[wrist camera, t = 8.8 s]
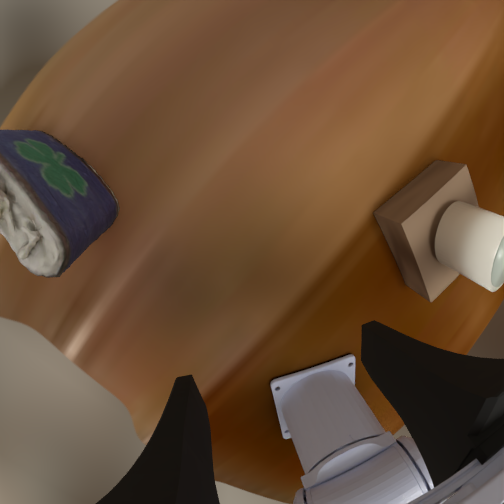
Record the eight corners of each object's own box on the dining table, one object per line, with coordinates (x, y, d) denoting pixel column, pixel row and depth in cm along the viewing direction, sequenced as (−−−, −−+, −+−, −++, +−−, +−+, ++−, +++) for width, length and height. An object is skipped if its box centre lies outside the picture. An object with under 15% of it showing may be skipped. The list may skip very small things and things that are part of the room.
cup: (464, 256, 21) (511, 281, 16) (430, 270, 19) (482, 302, 15) (473, 198, 19) (525, 217, 14) (439, 204, 17) (500, 227, 13)
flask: (18, 152, 15) (-88, 166, 5) (41, 118, 15) (-64, 105, 5) (104, 235, 19) (35, 313, 9) (131, 202, 18) (69, 257, 8)
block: (458, 231, 25) (486, 243, 21) (403, 283, 25) (430, 302, 21) (433, 159, 22) (466, 164, 18) (370, 211, 22) (401, 224, 18)
